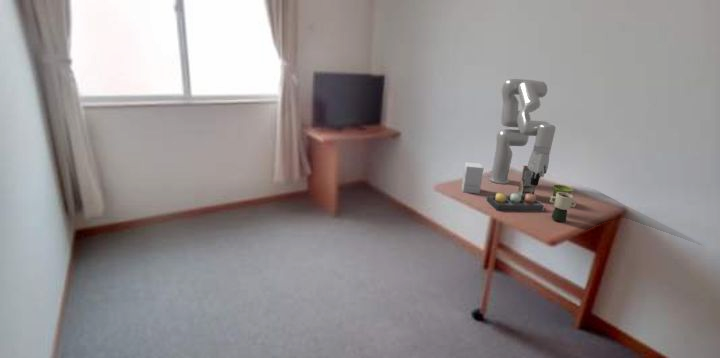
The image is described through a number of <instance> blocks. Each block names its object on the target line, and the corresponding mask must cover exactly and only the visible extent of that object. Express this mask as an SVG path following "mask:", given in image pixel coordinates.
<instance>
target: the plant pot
mask: <svg viewBox="0 0 720 358" xmlns="http://www.w3.org/2000/svg"><path fill="white" fill-rule="evenodd" d="M552 190H553V193H552V196H553V197H556V194H557V193H558V192H564V193H568V194H572V193H571V192H573V188H572V187H571V186H568V185H563V184H553V185H552ZM553 201H555V199H553Z"/></svg>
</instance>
